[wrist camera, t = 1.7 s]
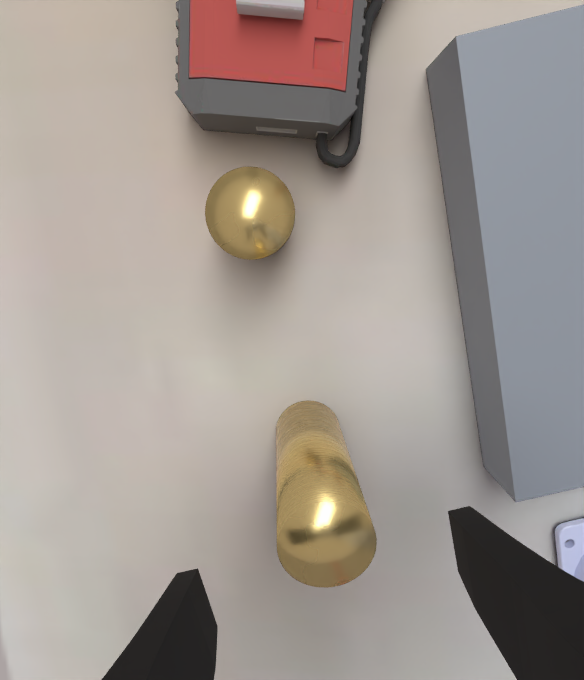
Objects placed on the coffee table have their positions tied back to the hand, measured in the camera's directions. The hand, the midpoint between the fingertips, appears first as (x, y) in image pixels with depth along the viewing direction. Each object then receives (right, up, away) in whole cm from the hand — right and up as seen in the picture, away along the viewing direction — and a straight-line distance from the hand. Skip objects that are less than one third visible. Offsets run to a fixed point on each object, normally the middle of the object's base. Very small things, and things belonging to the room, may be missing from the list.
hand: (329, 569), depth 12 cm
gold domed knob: (-3, +12, +6) cm, 13 cm away
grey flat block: (+12, +10, +7) cm, 17 cm away
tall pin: (0, +2, +9) cm, 9 cm away
